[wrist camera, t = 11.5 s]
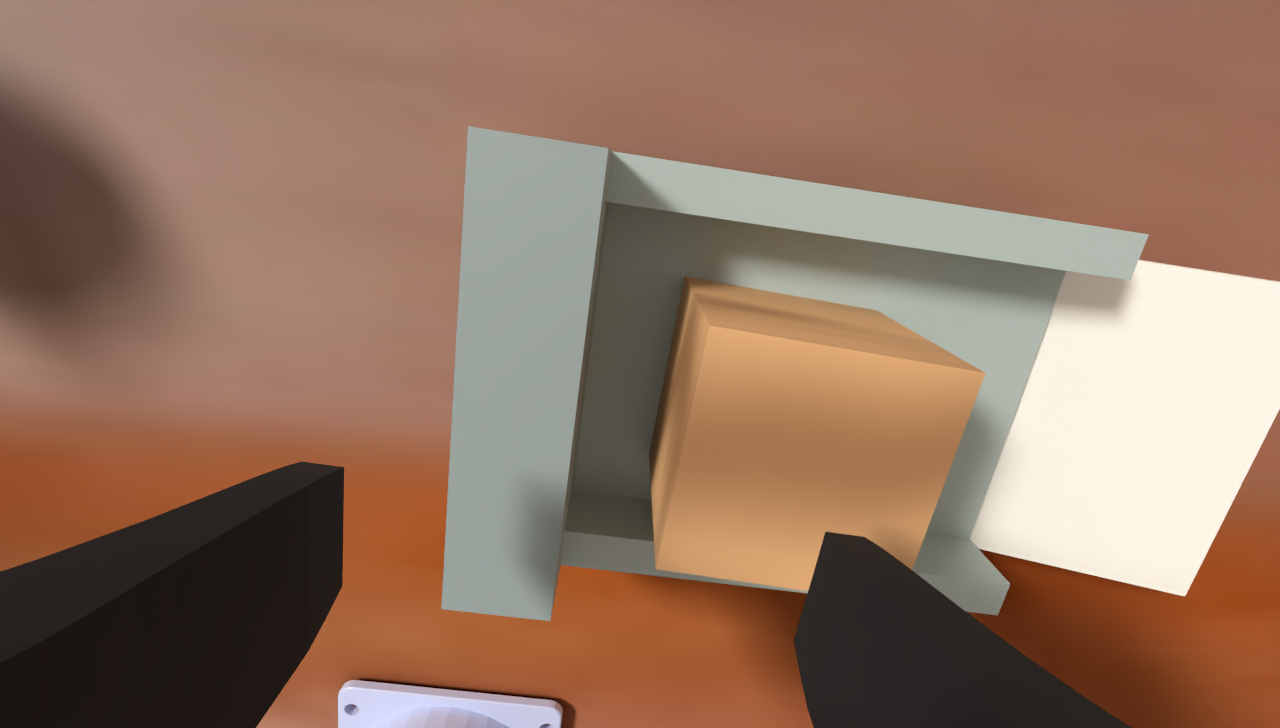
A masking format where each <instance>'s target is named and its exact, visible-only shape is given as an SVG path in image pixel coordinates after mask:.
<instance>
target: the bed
mask: <svg viewBox="0 0 1280 728" xmlns="http://www.w3.org/2000/svg"><path fill="white" fill-rule="evenodd" d="M1148 235H1149V234H1142V233H1136V232H1129V231H1123V230H1117V229H1110V228H1104V227H1097V226H1091V225H1084V224H1078V223H1071V222H1065V221H1058V220H1052V219H1046V218H1039V217H1033V216H1026V215H1020V214H1013V213H1007V212H1000V211H994V210H987V209H981V208H974V207H968V206H962V205H955V204H949V203H942V202H936V201H929V200H923V199H916V198H910V197H903V196H897V195H891V194H884V193H878V192H871V191H865V190H858V189H852V188H845V187H839V186H832V185H826V184H819V183H813V182H807V181H800V180H794V179H787V178H781V177H774V176H768V175H761V174H755V173H748V172H742V171H735V170H729V169H723V168H716V167H710V166H703V165H697V164H690V163H684V162H677V161H671V160H664V159H658V158H652V157H645V156H639V155H632V154H626V153H619V152H613V151H611V150H610V149H609V148H605V147H598V146H592V145H585V144H579V143H572V142H566V141H559V140H553V139H547V138H540V137H534V136H527V135H521V134H514V133H508V132H501V131H495V130H488V129H482V128H476V127H469V126H468V139H467V157H466V175H465V193H464V211H463V230H462V248H461V266H460V284H459V302H458V320H457V338H456V356H455V374H454V392H453V410H452V428H451V446H450V464H449V482H448V500H447V518H446V536H445V554H444V572H443V590H442V608H441V609H446V610H455V611H464V612H473V613H482V614H491V615H500V616H509V617H518V618H527V619H537V620H546V621H550V620H551V615H552V609H553V604H554V598H555V593H556V587H557V582H558V576H559V571H560V565H566V566H574V567H583V568H592V569H600V570H609V571H618V572H626V573H635V574H644V575H652V576H661V577H670V578H678V579H687V580H696V581H704V582H713V583H722V584H730V585H739V586H748V587H756V588H765V589H774V590H782V591H791V592H800V593H808V591H803V590H797V589H790V588H783V587H776V586H769V585H762V584H755V583H748V582H741V581H734V580H727V579H720V578H713V577H707V576H700V575H693V574H686V573H679V572H672V571H665V570H658V569H656V565H655V549H654V532H653V515H652V498H651V481H650V464H649V452H650V447H651V442H652V437H653V432H654V427H655V422H656V417H657V412H658V407H659V402H660V398H661V393H662V388H663V383H664V378H665V373H666V368H667V363H668V358H669V353H670V348H671V343H672V338H673V333H674V329H675V324H676V319H677V314H678V309H679V304H680V299H681V294H682V289H683V284H684V279H685V276H686V277H692V278H698V279H703V280H709V281H715V282H720V283H726V284H732V285H737V286H743V287H748V288H754V289H760V290H765V291H771V292H777V293H782V294H788V295H793V296H799V297H805V298H810V299H816V300H822V301H827V302H833V303H839V304H844V305H850V306H855V307H861V308H867V309H872V310H877V311H879V312H881V313H882V314H884V315H886V316H887V317H889V318H891V319H893V320H894V321H896V322H898V323H900V324H901V325H903V326H905V327H907V328H908V329H910V330H912V331H914V332H915V333H917V334H919V335H920V336H922V337H924V338H926V339H927V340H929V341H931V342H933V343H934V344H936V345H938V346H940V347H941V348H943V349H945V350H947V351H948V352H950V353H952V354H953V355H955V356H957V357H959V358H960V359H962V360H964V361H966V362H967V363H969V364H971V365H973V366H974V367H976V368H978V369H980V370H981V371H983V372H985V376H984V379H983V381H982V384H981V387H980V389H979V392H978V395H977V397H976V400H975V403H974V405H973V408H972V411H971V413H970V416H969V419H968V421H967V424H966V427H965V430H964V432H963V435H962V438H961V440H960V443H959V446H958V448H957V451H956V454H955V456H954V459H953V462H952V464H951V467H950V470H949V472H948V475H947V478H946V480H945V483H944V486H943V489H942V491H941V494H940V497H939V499H938V502H937V505H936V507H935V510H934V513H933V515H932V518H931V521H930V523H929V526H928V529H927V531H926V534H925V537H924V539H923V542H922V545H921V547H920V550H919V553H918V556H917V558H916V561H915V564H914V566H913V569H912V571H914V572H915V573H916V574H918V575H919V576H920V577H922V578H923V579H924V580H925V581H927V582H928V583H929V584H931V585H932V586H933V587H935V588H936V589H937V590H938V591H940V592H941V593H942V594H944V595H945V596H946V597H947V598H949V599H950V600H951V601H953V602H954V603H955V604H957V605H958V606H959V607H960V608H962V609H963V610H964V611H966V612H973V613H981V614H990V615H998V614H999V611H1000V609H1001V606H1002V604H1003V601H1004V599H1005V596H1006V594H1007V591H1008V589H1009V586H1010V583H1009V582H1008V581H1007V580H1006V579H1005V577H1004V576H1003V575H1002V574H1001V573H1000V572H999V571H998V570H997V569H996V568H995V567H994V565H993V564H992V563H991V562H990V561H989V560H988V559H987V558H986V557H985V556H984V554H983V553H982V552H981V551H980V550H979V549H978V548H977V547H976V546H975V545H974V544H973V542H972V541H971V540H970V536H971V533H972V530H973V528H974V525H975V522H976V519H977V517H978V514H979V511H980V508H981V506H982V503H983V500H984V497H985V494H986V492H987V489H988V486H989V483H990V481H991V478H992V475H993V472H994V470H995V467H996V464H997V461H998V458H999V456H1000V453H1001V450H1002V447H1003V445H1004V442H1005V439H1006V436H1007V434H1008V431H1009V428H1010V425H1011V423H1012V420H1013V417H1014V414H1015V411H1016V409H1017V406H1018V403H1019V400H1020V398H1021V395H1022V392H1023V389H1024V387H1025V384H1026V381H1027V378H1028V375H1029V373H1030V370H1031V367H1032V364H1033V362H1034V359H1035V356H1036V353H1037V351H1038V348H1039V345H1040V342H1041V340H1042V337H1043V334H1044V331H1045V328H1046V326H1047V323H1048V320H1049V317H1050V315H1051V312H1052V309H1053V306H1054V304H1055V301H1056V298H1057V295H1058V292H1059V290H1060V287H1061V284H1062V281H1063V279H1064V276H1065V273H1066V271H1071V272H1078V273H1085V274H1091V275H1098V276H1105V277H1111V278H1118V279H1125V280H1131V278H1132V275H1133V273H1134V270H1135V268H1136V265H1137V263H1138V260H1139V258H1140V255H1141V253H1142V250H1143V248H1144V245H1145V242H1146V240H1147V237H1148Z"/></svg>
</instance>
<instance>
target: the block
mask: <svg viewBox="0 0 1280 728" xmlns="http://www.w3.org/2000/svg"><path fill="white" fill-rule="evenodd" d="M984 376H985V372H983V371H981V370H980V369H978V368H976V367H974V366H973V365H971V364H969V363H967V362H966V361H964V360H962V359H960V358H959V357H957V356H955V355H953V354H952V353H950V352H948V351H947V350H945V349H943V348H941V347H940V346H938V345H936V344H934V343H933V342H931V341H929V340H927V339H926V338H924V337H922V336H920V335H919V334H917V333H915V332H914V331H912V330H910V329H908V328H907V327H905V326H903V325H901V324H900V323H898V322H896V321H894V320H893V319H891V318H889V317H887V316H886V315H884V314H882V313H881V312H879V311H877V310H872V309H867V308H861V307H855V306H850V305H844V304H839V303H833V302H827V301H822V300H816V299H810V298H805V297H799V296H793V295H788V294H782V293H777V292H771V291H765V290H760V289H754V288H748V287H743V286H737V285H732V284H726V283H720V282H715V281H709V280H703V279H698V278H692V277H686V276H685V279H684V284H683V289H682V294H681V299H680V304H679V309H678V314H677V319H676V324H675V329H674V333H673V338H672V343H671V348H670V353H669V358H668V363H667V368H666V373H665V378H664V383H663V388H662V393H661V398H660V402H659V407H658V412H657V417H656V422H655V427H654V432H653V437H652V442H651V447H650V452H649V464H650V481H651V498H652V515H653V532H654V549H655V565H656V569H658V570H665V571H672V572H679V573H686V574H693V575H700V576H707V577H713V578H720V579H727V580H734V581H741V582H748V583H755V584H762V585H769V586H776V587H783V588H790V589H797V590H803V591H808V590H809V587H810V583H811V580H812V576H813V573H814V569H815V566H816V563H817V559H818V556H819V552H820V549H821V545H822V542H823V538H824V535H825V532H832V533H840V534H847V535H855V536H862V537H865V538H867V539H869V540H870V541H872V542H874V543H875V544H877V545H878V546H880V547H881V548H883V549H884V550H885V551H887V552H888V553H890V554H891V555H892V556H894V557H895V558H896V559H898V560H899V561H900V562H902V563H903V564H904V565H906V566H907V567H908V568H910V569H911V570H912V569H913V566H914V564H915V561H916V558H917V556H918V553H919V550H920V547H921V545H922V542H923V539H924V537H925V534H926V531H927V529H928V526H929V523H930V521H931V518H932V515H933V513H934V510H935V507H936V505H937V502H938V499H939V497H940V494H941V491H942V489H943V486H944V483H945V480H946V478H947V475H948V472H949V470H950V467H951V464H952V462H953V459H954V456H955V454H956V451H957V448H958V446H959V443H960V440H961V438H962V435H963V432H964V430H965V427H966V424H967V421H968V419H969V416H970V413H971V411H972V408H973V405H974V403H975V400H976V397H977V395H978V392H979V389H980V387H981V384H982V381H983V379H984Z"/></svg>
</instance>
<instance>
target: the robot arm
mask: <svg viewBox="0 0 1280 728" xmlns="http://www.w3.org/2000/svg"><path fill="white" fill-rule="evenodd" d="M343 500H344V467H337V466H329V465H322V464H314V463H307V462H299V463H295V464H292V465H288V466H285V467H282V468H279V469H276V470H274V471H271V472H268V473H265V474H263V475H260V476H257V477H255V478H252V479H250V480H247V481H244V482H242V483H239V484H237V485H234V486H232V487H229V488H227V489H224V490H222V491H219V492H217V493H214V494H212V495H209V496H206V497H204V498H201V499H199V500H196V501H194V502H191V503H189V504H186V505H184V506H181V507H179V508H176V509H173V510H171V511H168V512H166V513H163V514H161V515H158V516H156V517H153V518H151V519H148V520H145V521H143V522H140V523H137V524H135V525H132V526H129V527H126V528H124V529H121V530H118V531H115V532H112V533H110V534H107V535H104V536H101V537H99V538H96V539H93V540H90V541H88V542H85V543H82V544H79V545H77V546H74V547H71V548H68V549H65V550H63V551H60V552H57V553H54V554H52V555H49V556H46V557H43V558H41V559H38V560H35V561H32V562H29V563H26V564H23V565H20V566H17V567H14V568H11V569H8V570H5V571H1V572H0V728H256V726H257V725H258V724H259V722H260V721H261V719H262V718H263V716H264V715H265V714H266V712H267V711H268V709H269V708H270V706H271V705H272V703H273V702H274V701H275V699H276V698H277V696H278V695H279V693H280V692H281V690H282V689H283V687H284V686H285V684H286V683H287V682H288V680H289V679H290V677H291V676H292V674H293V673H294V671H295V670H296V668H297V667H298V665H299V664H300V662H301V661H302V659H303V658H304V656H305V655H306V653H307V652H308V650H309V649H310V647H311V645H312V643H313V641H314V639H315V638H316V636H317V634H318V632H319V630H320V628H321V626H322V625H323V623H324V621H325V619H326V617H327V615H328V613H329V611H330V609H331V607H332V605H333V603H334V601H335V599H336V597H337V595H338V593H339V591H340V589H341V587H342V570H343ZM794 644H795V649H796V654H797V660H798V665H799V670H800V676H801V680H802V685H803V689H804V694H805V698H806V703H807V708H808V711H809V714H810V717H811V720H812V723H813V726H814V728H1131V727H1130V726H1128V725H1126V724H1125V723H1123V722H1122V721H1120V720H1119V719H1117V718H1115V717H1114V716H1112V715H1111V714H1109V713H1108V712H1106V711H1105V710H1103V709H1102V708H1100V707H1099V706H1097V705H1096V704H1094V703H1092V702H1091V701H1089V700H1088V699H1086V698H1085V697H1083V696H1082V695H1081V694H1079V693H1078V692H1076V691H1075V690H1073V689H1072V688H1070V687H1069V686H1068V685H1066V684H1065V683H1063V682H1062V681H1060V680H1059V679H1058V678H1056V677H1055V676H1053V675H1052V674H1050V673H1049V672H1048V671H1046V670H1045V669H1043V668H1042V667H1040V666H1039V665H1038V664H1036V663H1035V662H1033V661H1032V660H1030V659H1029V658H1028V657H1026V656H1025V655H1023V654H1022V653H1021V652H1019V651H1018V650H1017V649H1015V648H1014V647H1013V646H1011V645H1010V644H1008V643H1007V642H1006V641H1004V640H1003V639H1002V638H1000V637H999V636H998V635H996V634H995V633H994V632H992V631H991V630H990V629H988V628H987V627H986V626H984V625H983V624H982V623H980V622H979V621H978V620H976V619H975V618H974V617H972V616H971V615H970V614H968V613H967V612H966V611H964V610H963V609H962V608H960V607H959V606H958V605H957V604H955V603H954V602H953V601H951V600H950V599H949V598H947V597H946V596H945V595H944V594H942V593H941V592H940V591H938V590H937V589H936V588H935V587H933V586H932V585H931V584H929V583H928V582H927V581H925V580H924V579H923V578H922V577H920V576H919V575H918V574H916V573H915V572H914V571H912V570H911V569H910V568H908V567H907V566H906V565H904V564H903V563H902V562H900V561H899V560H898V559H896V558H895V557H894V556H892V555H891V554H890V553H888V552H887V551H885V550H884V549H883V548H881V547H880V546H878V545H877V544H875V543H874V542H872V541H870V540H869V539H867V538H865V537H862V536H855V535H847V534H840V533H832V532H825V535H824V538H823V542H822V545H821V549H820V552H819V556H818V559H817V563H816V566H815V569H814V573H813V576H812V580H811V583H810V587H809V590H808V594H807V597H806V601H805V604H804V608H803V611H802V614H801V618H800V621H799V625H798V628H797V632H796V635H795V639H794ZM352 704H353V705H352ZM354 705H356V706H354ZM562 714H563V710H562V707H561V705H560V704H559V703H557V702H556V701H552V700H546V699H536V698H526V697H516V696H507V695H497V694H487V693H477V692H468V691H458V690H448V689H438V688H429V687H419V686H409V685H400V684H390V683H380V682H370V681H361V680H350V681H348V682H346V683H345V684H344V685H343V686H342V688H341V690H340V692H339V695H338V728H561V721H562ZM544 724H550V725H544Z"/></svg>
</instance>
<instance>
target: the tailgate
mask: <svg viewBox="0 0 1280 728" xmlns="http://www.w3.org/2000/svg"><path fill="white" fill-rule="evenodd" d="M1279 409H1280V282H1279V281H1272V280H1266V279H1260V278H1253V277H1247V276H1240V275H1234V274H1228V273H1221V272H1215V271H1208V270H1202V269H1196V268H1189V267H1183V266H1177V265H1170V264H1164V263H1157V262H1151V261H1145V260H1138V263H1137V265H1136V268H1135V270H1134V273H1133V275H1132V278H1131V280H1125V279H1118V278H1111V277H1105V276H1098V275H1091V274H1085V273H1078V272H1071V271H1066V273H1065V276H1064V279H1063V281H1062V284H1061V287H1060V290H1059V292H1058V295H1057V298H1056V301H1055V304H1054V306H1053V309H1052V312H1051V315H1050V317H1049V320H1048V323H1047V326H1046V328H1045V331H1044V334H1043V337H1042V340H1041V342H1040V345H1039V348H1038V351H1037V353H1036V356H1035V359H1034V362H1033V364H1032V367H1031V370H1030V373H1029V375H1028V378H1027V381H1026V384H1025V387H1024V389H1023V392H1022V395H1021V398H1020V400H1019V403H1018V406H1017V409H1016V411H1015V414H1014V417H1013V420H1012V423H1011V425H1010V428H1009V431H1008V434H1007V436H1006V439H1005V442H1004V445H1003V447H1002V450H1001V453H1000V456H999V458H998V461H997V464H996V467H995V470H994V472H993V475H992V478H991V481H990V483H989V486H988V489H987V492H986V494H985V497H984V500H983V503H982V506H981V508H980V511H979V514H978V517H977V519H976V522H975V525H974V528H973V530H972V533H971V536H970V540H971V541H972V542H973V544H974V545H975V546H976V547H977V548H978V549H981V550H986V551H990V552H994V553H999V554H1003V555H1007V556H1012V557H1016V558H1020V559H1025V560H1029V561H1033V562H1038V563H1042V564H1046V565H1051V566H1055V567H1059V568H1064V569H1068V570H1072V571H1077V572H1081V573H1085V574H1090V575H1094V576H1098V577H1103V578H1107V579H1111V580H1116V581H1120V582H1124V583H1129V584H1133V585H1137V586H1142V587H1146V588H1150V589H1155V590H1159V591H1163V592H1168V593H1172V594H1176V595H1181V596H1185V595H1186V593H1187V591H1188V589H1189V587H1190V585H1191V583H1192V581H1193V579H1194V577H1195V576H1196V574H1197V572H1198V570H1199V568H1200V566H1201V564H1202V562H1203V560H1204V558H1205V556H1206V554H1207V552H1208V550H1209V548H1210V546H1211V544H1212V542H1213V540H1214V538H1215V536H1216V534H1217V532H1218V530H1219V528H1220V526H1221V524H1222V522H1223V520H1224V518H1225V516H1226V514H1227V512H1228V510H1229V508H1230V506H1231V504H1232V502H1233V500H1234V498H1235V496H1236V494H1237V492H1238V490H1239V488H1240V486H1241V484H1242V482H1243V480H1244V478H1245V476H1246V474H1247V472H1248V470H1249V468H1250V466H1251V464H1252V462H1253V460H1254V459H1255V457H1256V455H1257V453H1258V451H1259V449H1260V447H1261V445H1262V443H1263V441H1264V439H1265V437H1266V435H1267V433H1268V431H1269V429H1270V427H1271V425H1272V423H1273V421H1274V419H1275V417H1276V415H1277V413H1278V411H1279Z"/></svg>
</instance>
